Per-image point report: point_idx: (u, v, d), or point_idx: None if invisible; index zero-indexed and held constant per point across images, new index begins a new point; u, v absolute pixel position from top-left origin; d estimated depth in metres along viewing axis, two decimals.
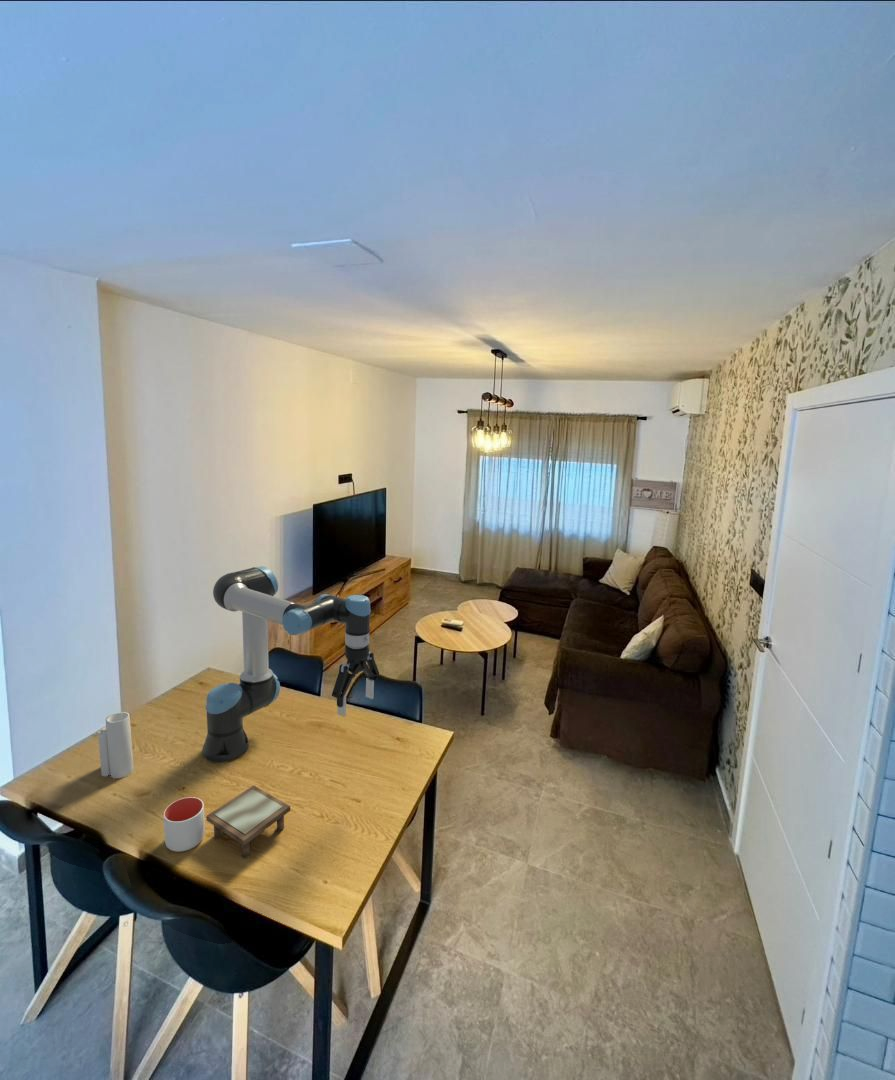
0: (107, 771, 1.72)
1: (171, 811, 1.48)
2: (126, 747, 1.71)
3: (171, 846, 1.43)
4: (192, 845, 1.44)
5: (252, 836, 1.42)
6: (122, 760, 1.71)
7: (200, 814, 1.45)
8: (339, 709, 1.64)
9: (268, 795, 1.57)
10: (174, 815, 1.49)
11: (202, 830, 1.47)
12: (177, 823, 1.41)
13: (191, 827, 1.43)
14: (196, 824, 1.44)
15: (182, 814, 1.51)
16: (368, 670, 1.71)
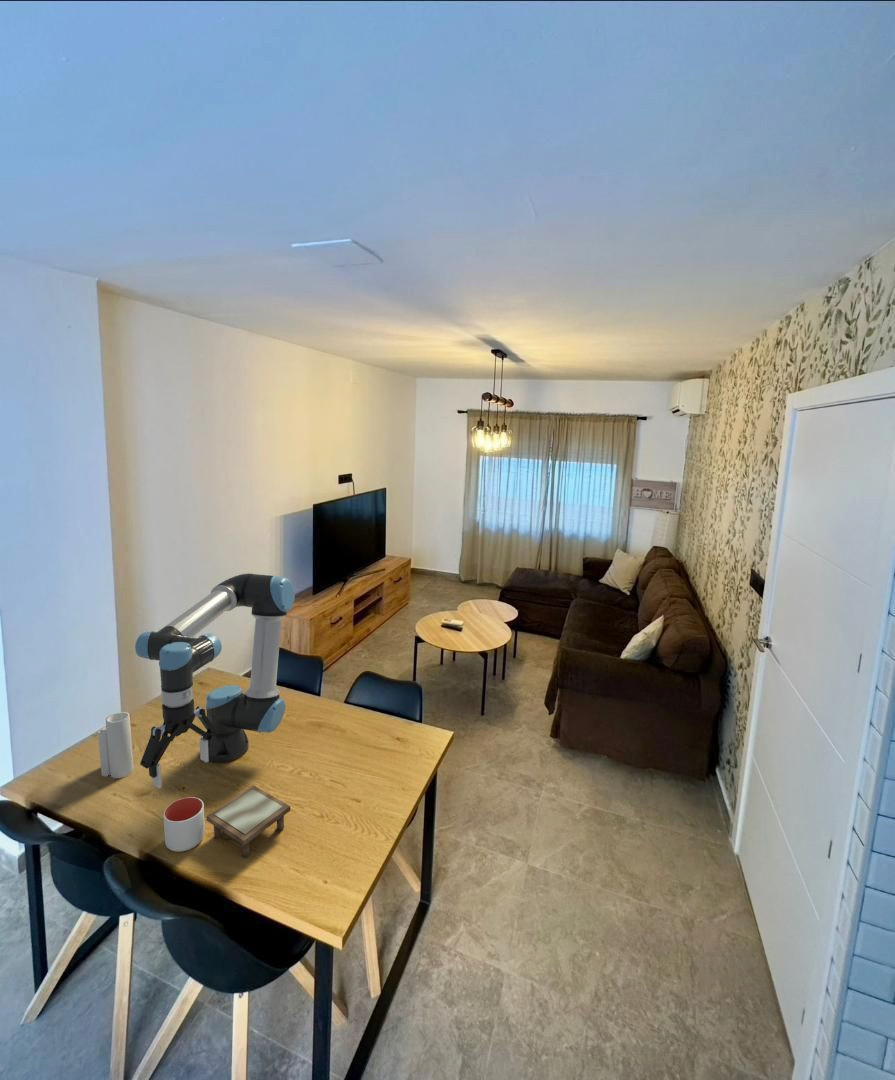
0: (107, 771, 1.72)
1: (171, 811, 1.48)
2: (126, 747, 1.71)
3: (171, 846, 1.43)
4: (192, 845, 1.44)
5: (252, 836, 1.42)
6: (122, 760, 1.71)
7: (200, 814, 1.45)
8: (154, 779, 1.37)
9: (268, 795, 1.57)
10: (174, 815, 1.49)
11: (202, 830, 1.47)
12: (177, 823, 1.41)
13: (191, 827, 1.43)
14: (196, 824, 1.44)
15: (182, 814, 1.51)
16: (197, 730, 1.44)
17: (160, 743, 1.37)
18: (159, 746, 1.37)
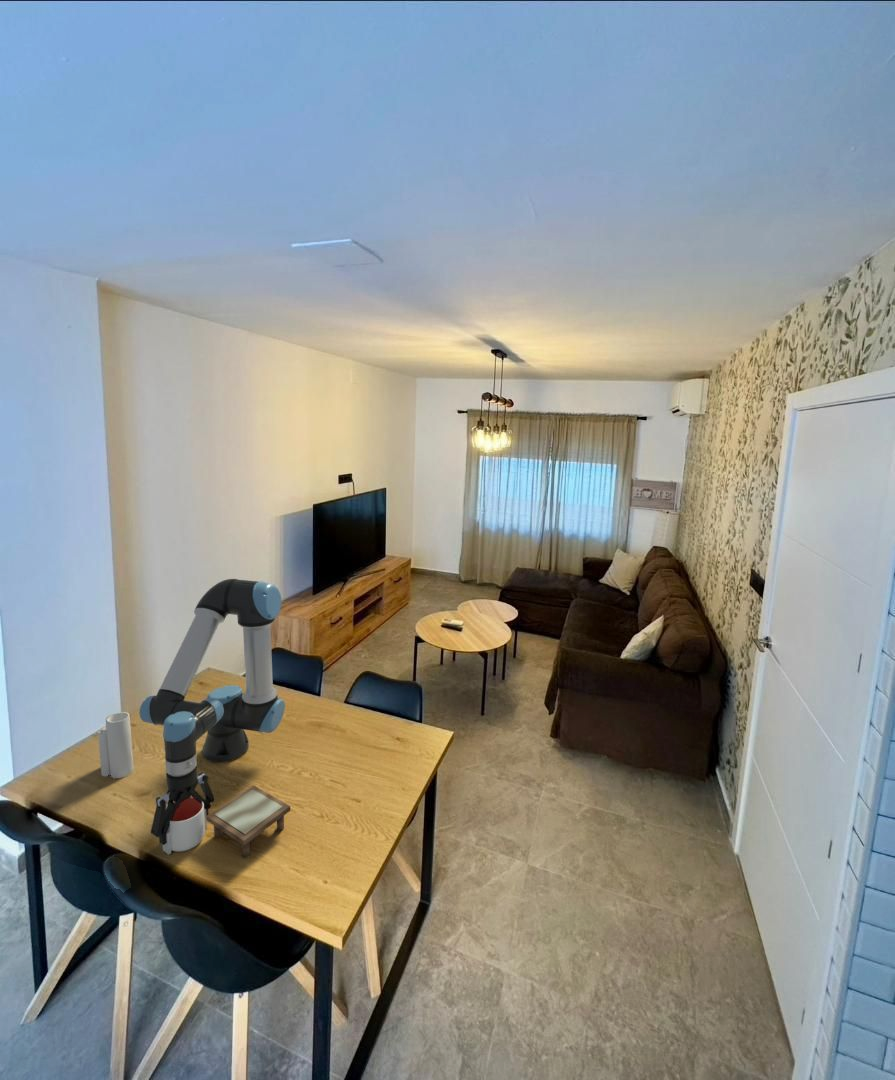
0: (107, 771, 1.72)
1: None
2: (126, 747, 1.71)
3: (171, 846, 1.43)
4: (192, 845, 1.44)
5: (252, 836, 1.42)
6: (122, 760, 1.71)
7: (200, 814, 1.45)
8: (164, 845, 1.43)
9: (268, 795, 1.57)
10: (174, 815, 1.49)
11: (202, 830, 1.47)
12: (177, 823, 1.41)
13: (191, 827, 1.43)
14: (196, 824, 1.44)
15: (182, 814, 1.51)
16: (198, 797, 1.48)
17: (167, 811, 1.42)
18: (166, 814, 1.42)
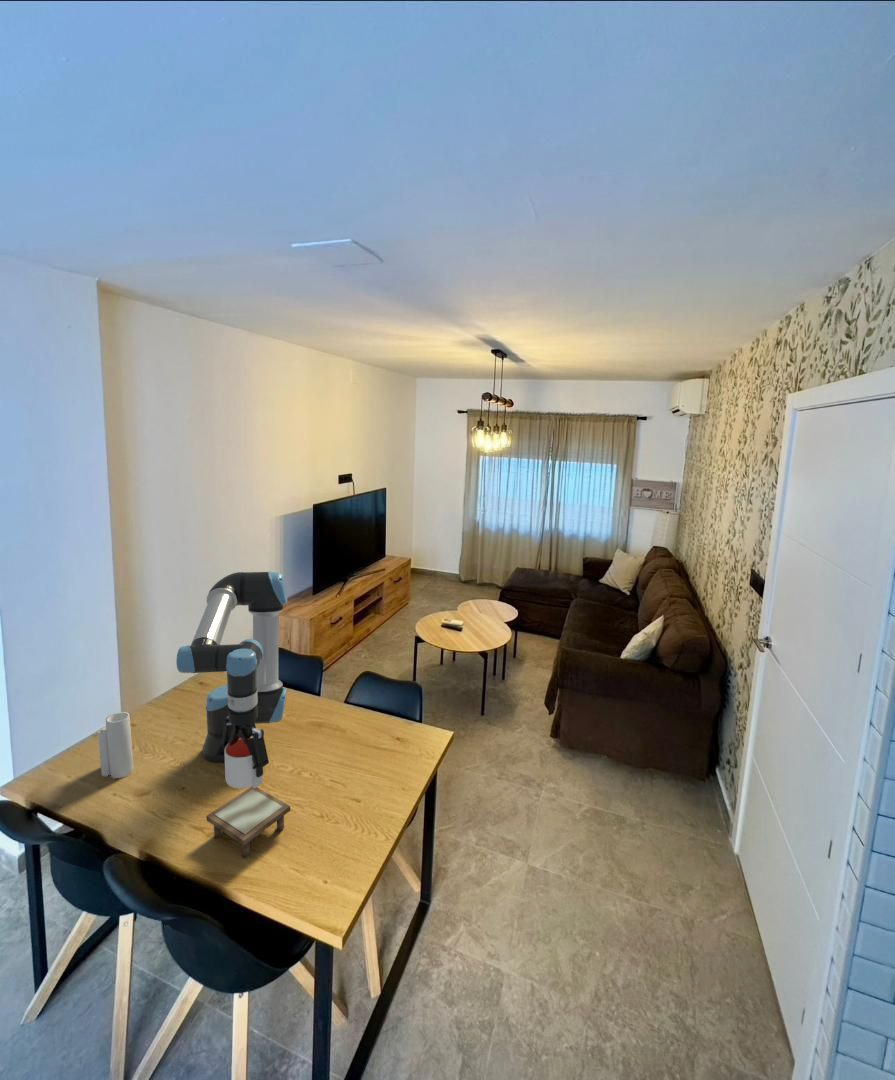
0: (107, 771, 1.72)
1: None
2: (126, 747, 1.71)
3: None
4: (227, 781, 1.44)
5: (252, 836, 1.42)
6: (122, 760, 1.71)
7: (233, 760, 1.41)
8: None
9: (268, 795, 1.57)
10: None
11: (236, 779, 1.43)
12: None
13: (226, 763, 1.43)
14: (229, 765, 1.42)
15: None
16: (248, 747, 1.43)
17: None
18: None
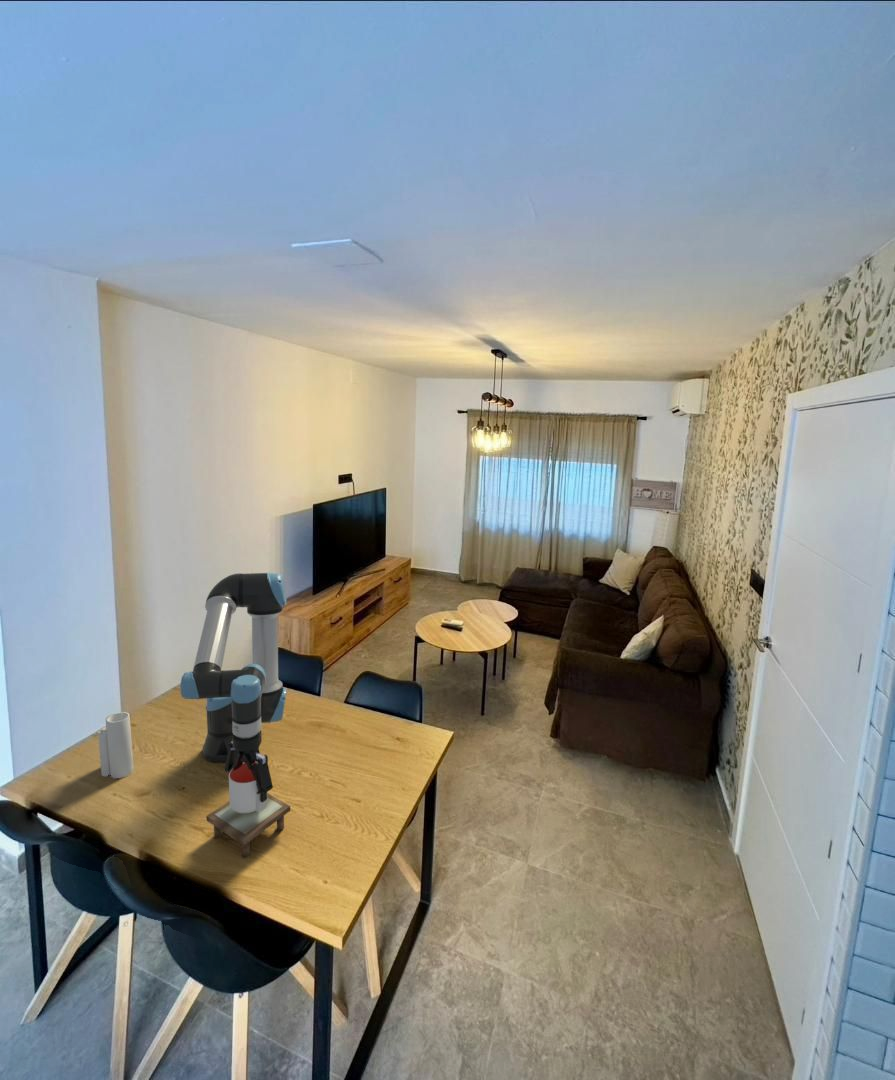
0: (107, 771, 1.72)
1: None
2: (126, 747, 1.71)
3: None
4: (231, 806, 1.46)
5: (252, 836, 1.42)
6: (122, 760, 1.71)
7: (238, 785, 1.43)
8: None
9: (268, 795, 1.57)
10: None
11: (240, 804, 1.44)
12: None
13: (230, 788, 1.45)
14: (233, 790, 1.44)
15: None
16: (253, 773, 1.45)
17: None
18: None
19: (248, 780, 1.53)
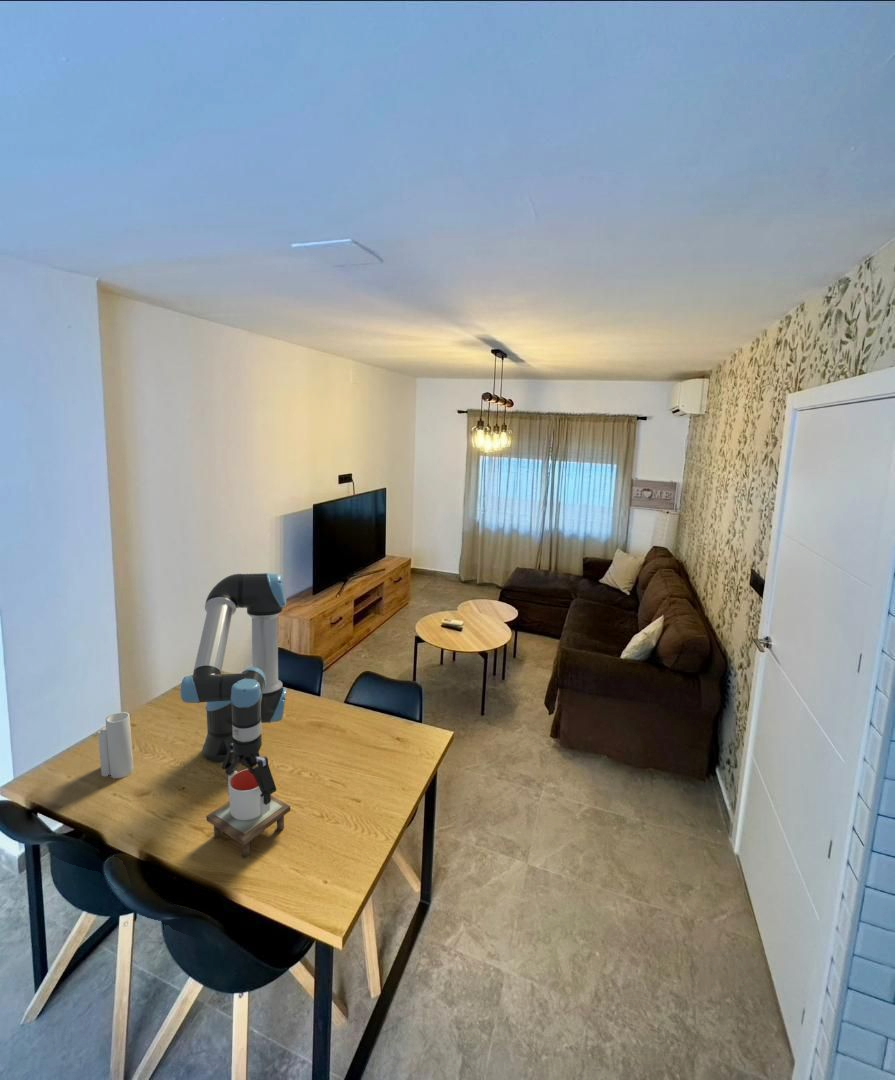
0: (107, 771, 1.72)
1: None
2: (126, 747, 1.71)
3: None
4: (231, 813, 1.47)
5: (252, 836, 1.42)
6: (122, 760, 1.71)
7: (238, 793, 1.44)
8: None
9: None
10: None
11: (241, 811, 1.45)
12: None
13: (231, 796, 1.46)
14: (234, 798, 1.45)
15: None
16: (254, 776, 1.45)
17: None
18: None
19: (248, 787, 1.54)
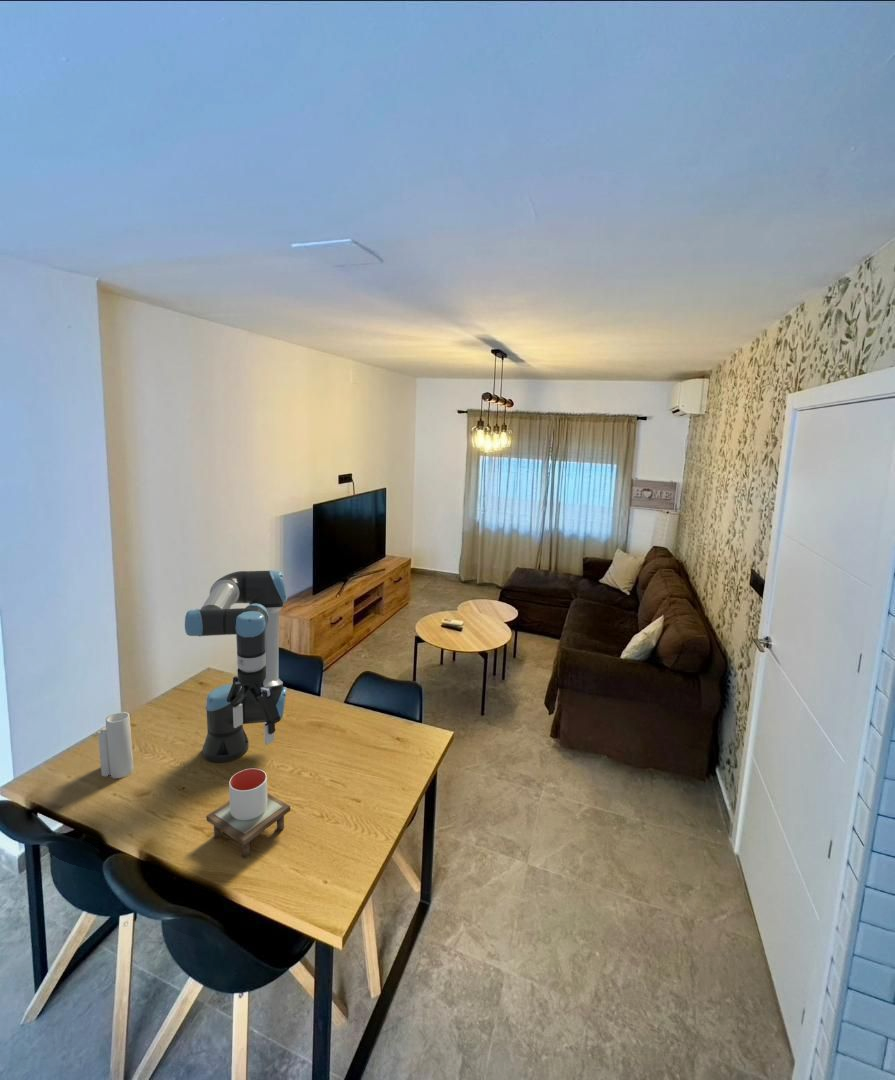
0: (107, 771, 1.72)
1: (259, 776, 1.53)
2: (126, 747, 1.71)
3: None
4: (231, 813, 1.47)
5: (252, 836, 1.42)
6: (122, 760, 1.71)
7: (238, 793, 1.44)
8: None
9: (268, 795, 1.57)
10: (261, 783, 1.53)
11: (241, 811, 1.45)
12: None
13: (230, 796, 1.46)
14: (234, 798, 1.45)
15: None
16: (259, 706, 1.47)
17: None
18: None
19: (248, 787, 1.54)
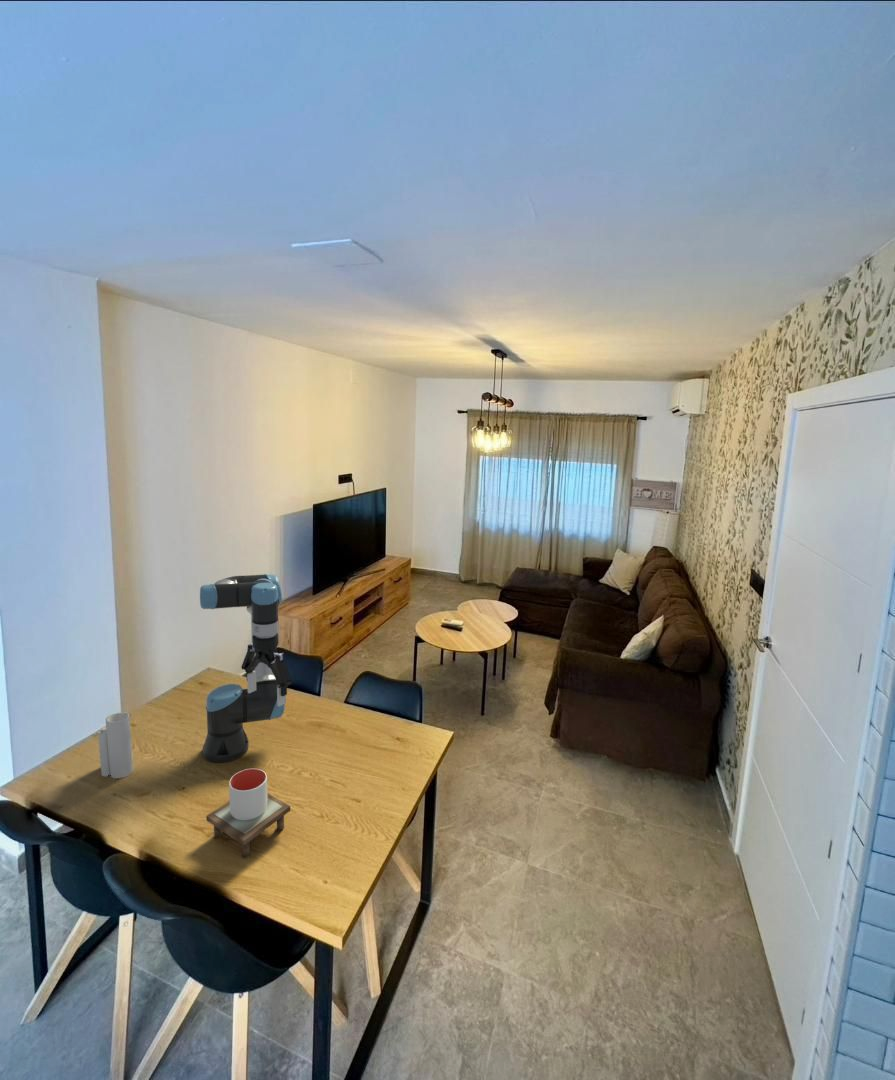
0: (107, 771, 1.72)
1: (259, 776, 1.53)
2: (126, 747, 1.71)
3: None
4: (231, 813, 1.47)
5: (252, 836, 1.42)
6: (122, 760, 1.71)
7: (238, 793, 1.44)
8: None
9: (268, 795, 1.57)
10: (261, 783, 1.53)
11: (241, 811, 1.45)
12: None
13: (230, 796, 1.46)
14: (234, 798, 1.45)
15: None
16: (272, 670, 1.59)
17: None
18: None
19: (248, 787, 1.54)
